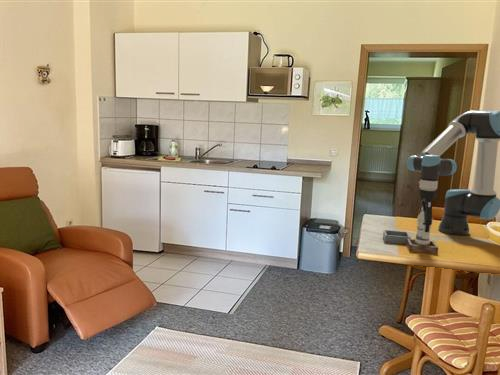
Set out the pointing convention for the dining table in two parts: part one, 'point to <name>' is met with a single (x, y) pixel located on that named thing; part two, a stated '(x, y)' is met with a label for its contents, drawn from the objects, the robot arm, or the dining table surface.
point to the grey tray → (395, 236)
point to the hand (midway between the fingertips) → (423, 235)
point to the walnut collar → (422, 247)
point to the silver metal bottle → (421, 231)
